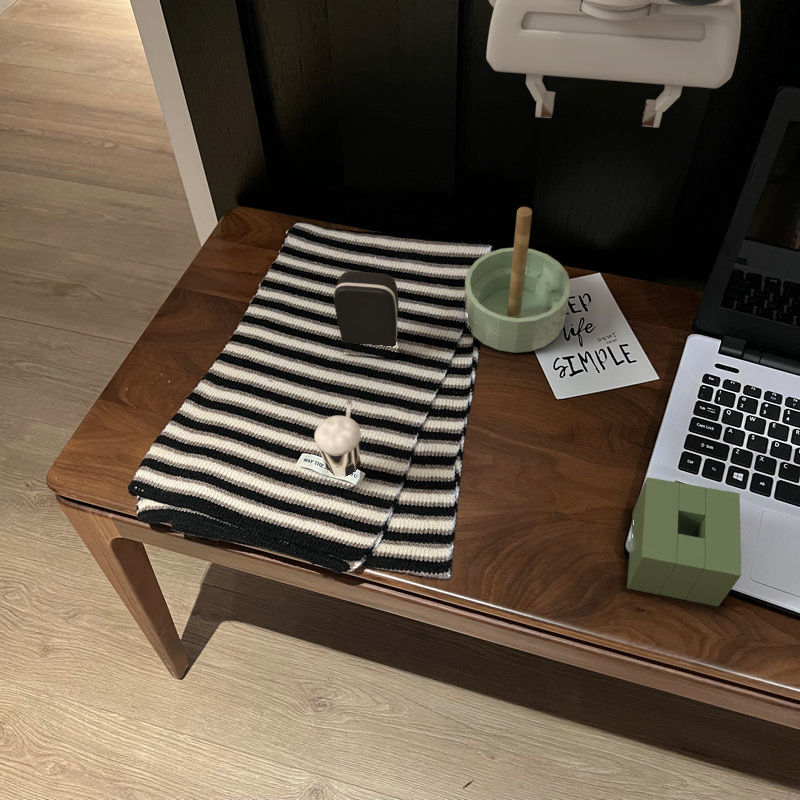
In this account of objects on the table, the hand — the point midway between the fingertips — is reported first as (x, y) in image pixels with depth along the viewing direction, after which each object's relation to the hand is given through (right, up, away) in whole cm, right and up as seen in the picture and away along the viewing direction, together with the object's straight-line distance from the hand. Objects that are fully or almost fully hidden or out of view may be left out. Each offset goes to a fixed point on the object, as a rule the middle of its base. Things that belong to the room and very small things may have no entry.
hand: (596, 119), depth 70 cm
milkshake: (-23, -33, +13) cm, 43 cm away
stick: (-4, -10, +19) cm, 22 cm away
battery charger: (-21, -19, +24) cm, 37 cm away
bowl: (-4, -15, +26) cm, 30 cm away
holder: (+9, -41, +6) cm, 42 cm away
